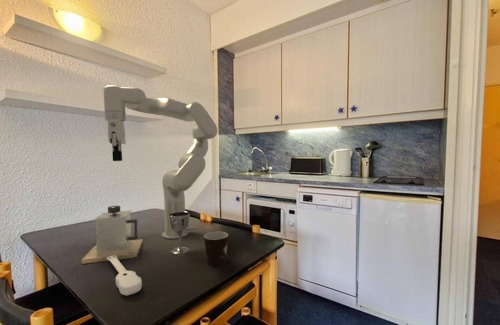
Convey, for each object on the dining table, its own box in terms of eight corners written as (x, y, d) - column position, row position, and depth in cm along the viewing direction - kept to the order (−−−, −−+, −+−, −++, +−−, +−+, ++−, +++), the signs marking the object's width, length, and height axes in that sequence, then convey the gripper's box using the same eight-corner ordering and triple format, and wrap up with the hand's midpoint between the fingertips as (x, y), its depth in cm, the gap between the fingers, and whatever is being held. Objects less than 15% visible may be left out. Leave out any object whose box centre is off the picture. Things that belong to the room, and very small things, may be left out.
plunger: (128, 242, 99) (127, 204, 99) (124, 249, 92) (123, 208, 91) (106, 244, 97) (105, 205, 97) (100, 252, 89) (99, 209, 89)
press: (142, 242, 105) (141, 208, 104) (136, 257, 89) (135, 217, 89) (96, 247, 99) (95, 211, 99) (81, 264, 84) (80, 221, 84)
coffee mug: (217, 255, 89) (216, 229, 89) (233, 262, 84) (233, 234, 84) (192, 267, 80) (191, 238, 80) (208, 275, 75) (208, 244, 75)
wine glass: (169, 255, 90) (168, 217, 90) (170, 247, 98) (169, 212, 97) (190, 253, 92) (189, 215, 92) (190, 245, 100) (189, 210, 100)
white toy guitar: (102, 266, 83) (101, 258, 83) (120, 261, 87) (119, 253, 86) (123, 300, 62) (122, 289, 62) (145, 291, 66) (145, 281, 66)
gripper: (122, 114, 91) (124, 161, 92) (128, 119, 105) (130, 160, 106) (100, 113, 89) (102, 161, 90) (109, 119, 103) (111, 160, 104)
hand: (117, 160), depth 98 cm, fingers closed
